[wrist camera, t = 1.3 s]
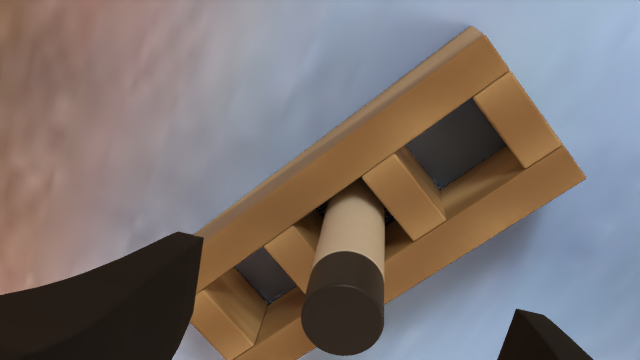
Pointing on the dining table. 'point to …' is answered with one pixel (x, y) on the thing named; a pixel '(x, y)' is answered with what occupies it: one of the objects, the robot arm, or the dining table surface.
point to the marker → (347, 274)
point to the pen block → (381, 197)
